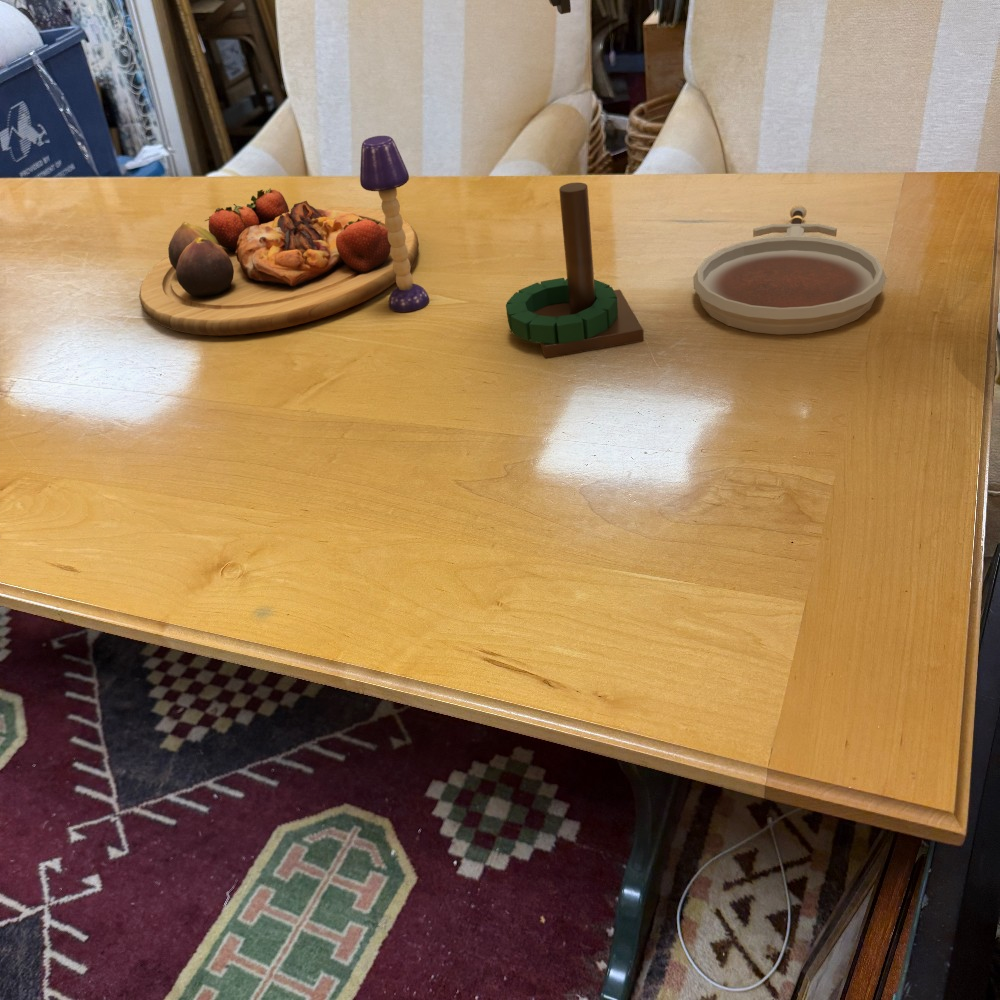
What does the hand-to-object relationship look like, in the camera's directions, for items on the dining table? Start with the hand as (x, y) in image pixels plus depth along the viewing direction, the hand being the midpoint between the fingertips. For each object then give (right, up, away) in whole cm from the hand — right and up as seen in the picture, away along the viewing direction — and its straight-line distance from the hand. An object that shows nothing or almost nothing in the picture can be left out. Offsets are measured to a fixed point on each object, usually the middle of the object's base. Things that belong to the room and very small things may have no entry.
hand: (621, 1), depth 67 cm
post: (-1, -21, +18) cm, 27 cm away
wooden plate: (-34, -11, +38) cm, 52 cm away
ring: (-3, -20, +17) cm, 27 cm away
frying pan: (+19, -15, +22) cm, 33 cm away
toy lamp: (-18, -17, +27) cm, 37 cm away
